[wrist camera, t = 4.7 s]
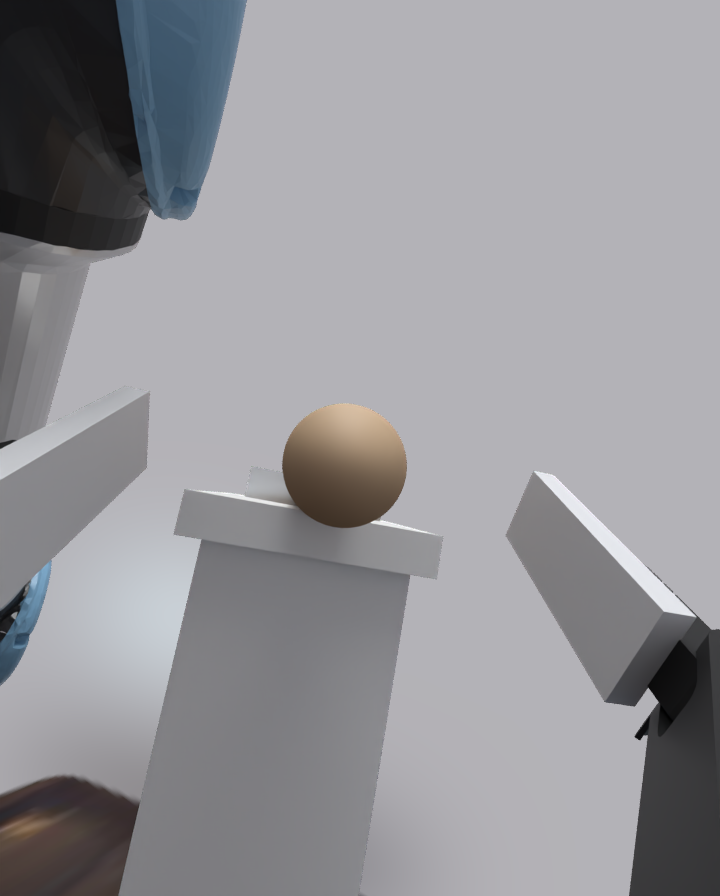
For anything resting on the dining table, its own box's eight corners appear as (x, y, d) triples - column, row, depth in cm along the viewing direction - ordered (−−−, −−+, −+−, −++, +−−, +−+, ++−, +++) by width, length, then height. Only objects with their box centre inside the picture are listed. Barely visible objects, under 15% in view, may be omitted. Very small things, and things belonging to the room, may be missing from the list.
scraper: (512, 558, 10) (527, 440, 11) (136, 491, 9) (169, 364, 10) (368, 517, 33) (374, 480, 33) (253, 497, 32) (261, 458, 32)
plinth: (320, 1348, 16) (443, 536, 20) (-29, 1361, 14) (184, 488, 19) (311, 949, 29) (385, 521, 34) (134, 937, 28) (234, 493, 32)
